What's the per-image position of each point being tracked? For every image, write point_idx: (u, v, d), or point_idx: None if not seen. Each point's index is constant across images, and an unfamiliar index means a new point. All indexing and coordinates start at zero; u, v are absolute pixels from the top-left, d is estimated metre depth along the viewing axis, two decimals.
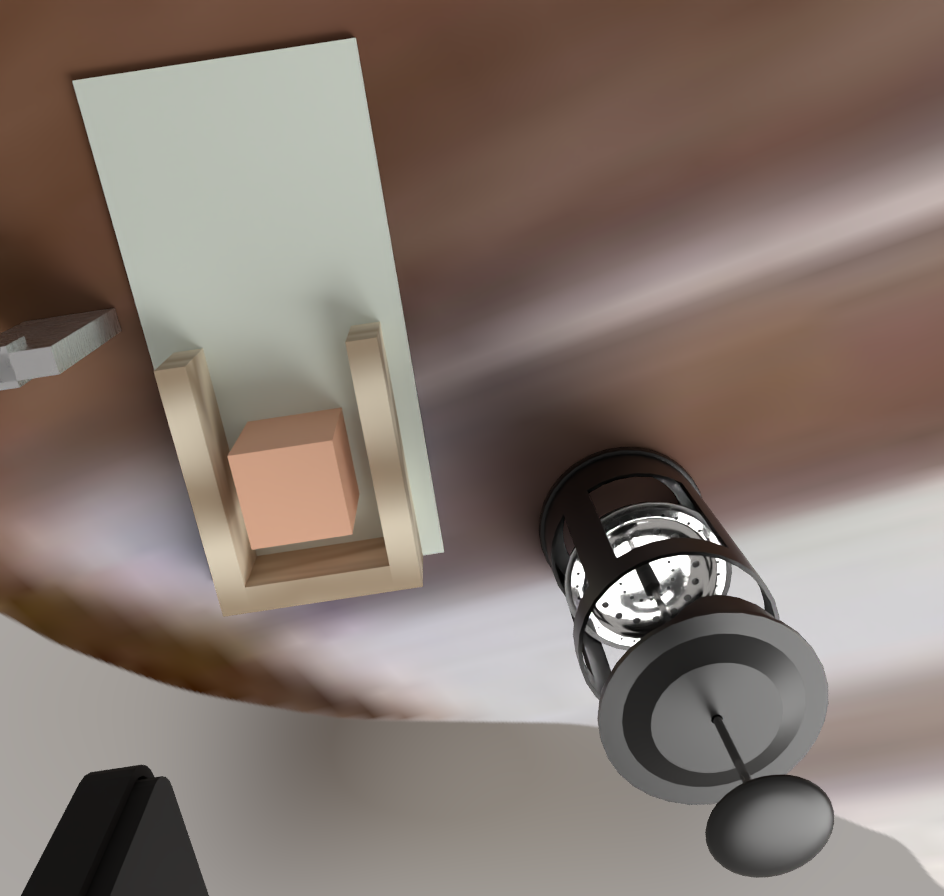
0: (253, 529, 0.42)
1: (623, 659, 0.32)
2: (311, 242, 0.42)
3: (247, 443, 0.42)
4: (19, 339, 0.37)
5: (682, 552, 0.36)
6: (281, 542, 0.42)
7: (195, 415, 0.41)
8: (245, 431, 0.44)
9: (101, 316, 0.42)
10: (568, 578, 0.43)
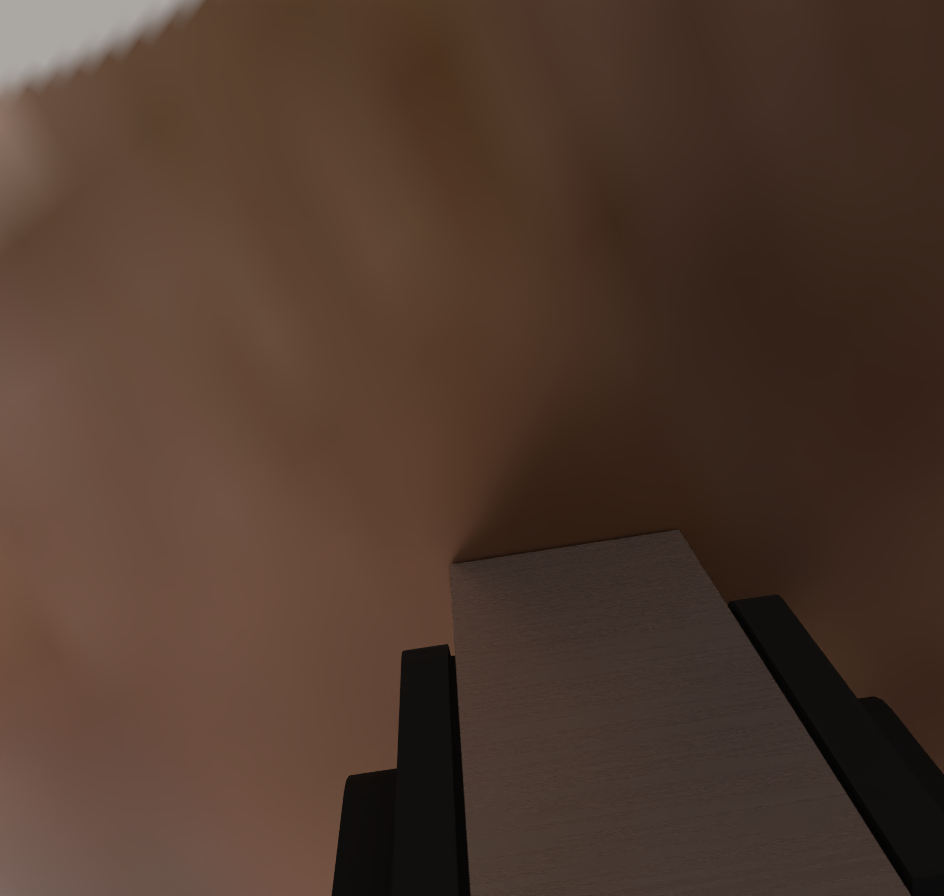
0: None
1: None
2: None
3: None
4: None
5: None
6: None
7: None
8: None
9: None
10: None
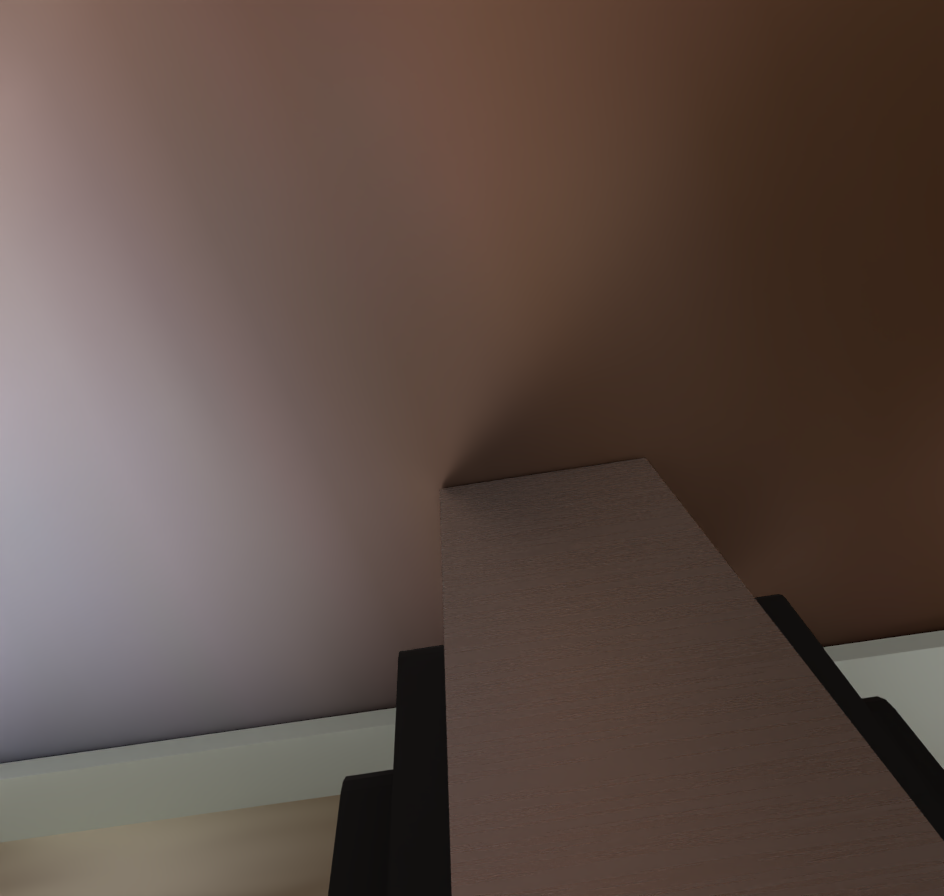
0: None
1: None
2: None
3: None
4: None
5: None
6: None
7: None
8: None
9: None
10: None
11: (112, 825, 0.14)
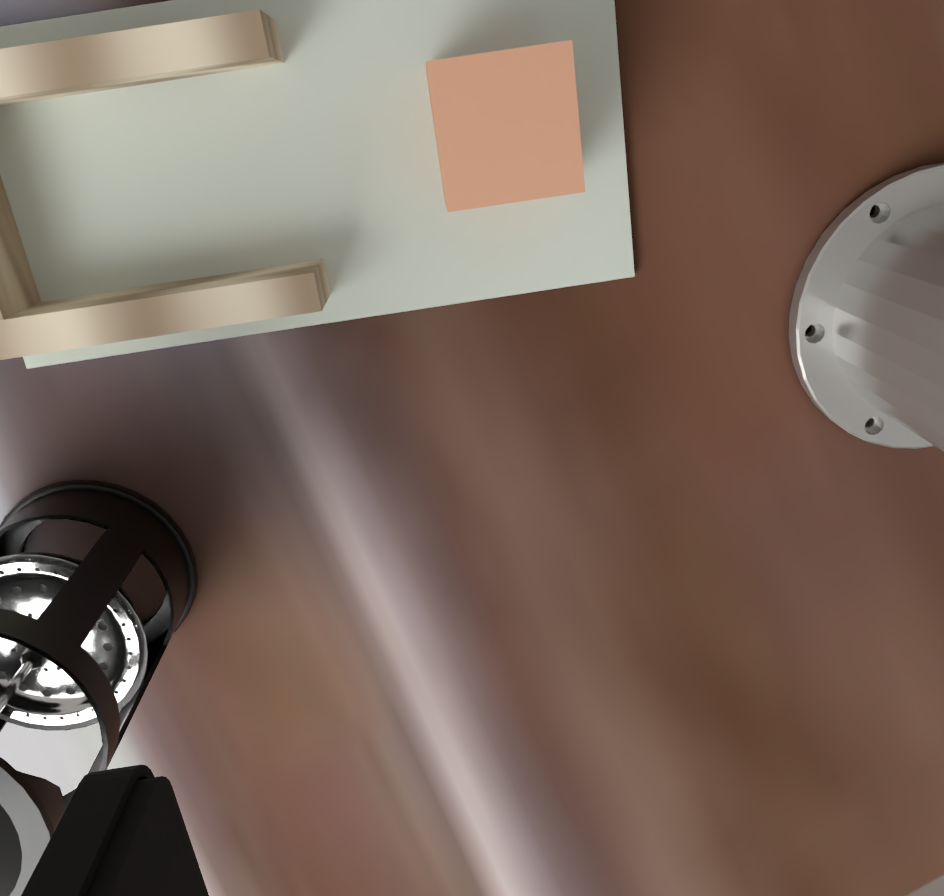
0: (458, 67, 0.29)
1: None
2: (422, 216, 0.36)
3: None
4: None
5: (104, 726, 0.30)
6: (437, 108, 0.30)
7: (199, 62, 0.30)
8: None
9: None
10: (27, 556, 0.34)
11: None
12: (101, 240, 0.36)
